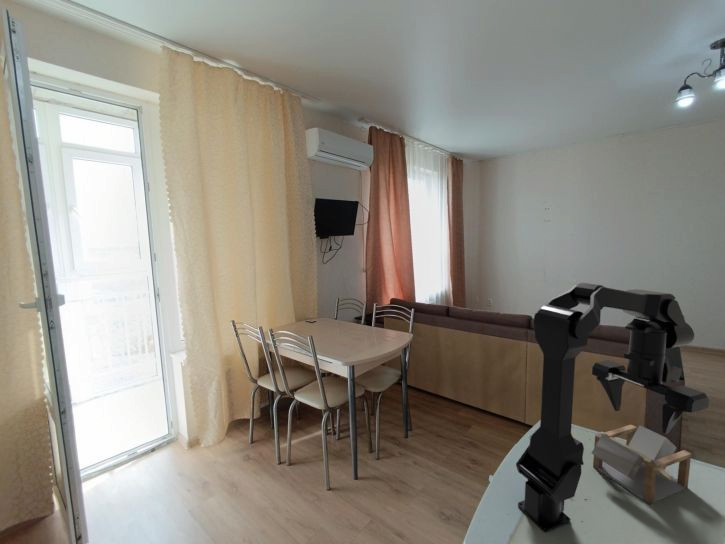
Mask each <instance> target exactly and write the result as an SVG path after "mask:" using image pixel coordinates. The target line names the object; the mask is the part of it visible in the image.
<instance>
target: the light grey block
mask: <svg viewBox="0 0 725 544" xmlns="http://www.w3.org/2000/svg"><path fill="white" fill-rule="evenodd" d="M628 446H629V447H630V448H632V449H634V450H636V451H638V452H639V453H641V454H643V455H645V456H647V457H649V458H650V459H652V460H655V461H656V460H658V459H661V458H664V457H666V456H669V455H672V454H675V453H676V452H675V451H676V450H677V447H676V446H675V444H673V442H672V441H670V440H669V439H668V438H667V437H665V436H663V435H662V434H660V433H658V432H655V431H654V430H651V429H649V428H647V427H645V426H643V425H640V424H639V426H638V427H637V431H636V432H635V434H634V436H633V438H632V440H631V441H630V443H629V445H628ZM662 469H664V470H665V471H666V469H667V467H664V468H662Z"/></svg>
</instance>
